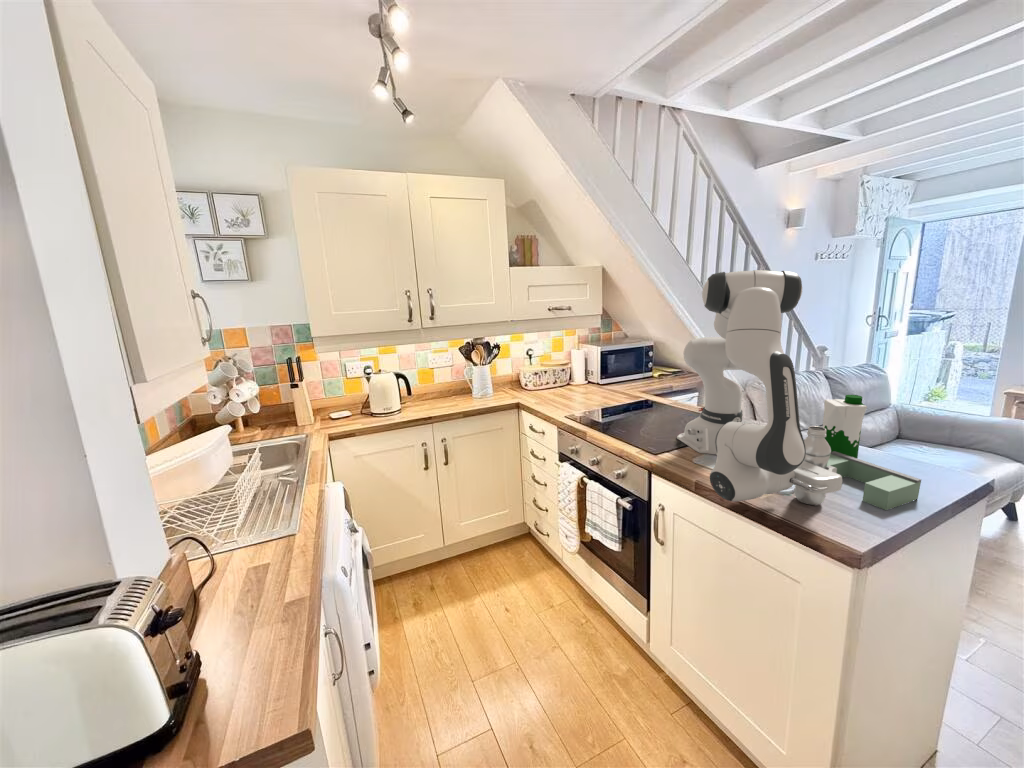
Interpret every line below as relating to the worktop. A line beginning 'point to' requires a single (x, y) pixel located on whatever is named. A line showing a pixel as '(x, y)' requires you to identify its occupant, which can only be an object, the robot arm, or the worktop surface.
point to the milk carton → (844, 424)
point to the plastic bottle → (814, 461)
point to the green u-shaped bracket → (877, 481)
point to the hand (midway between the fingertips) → (813, 462)
